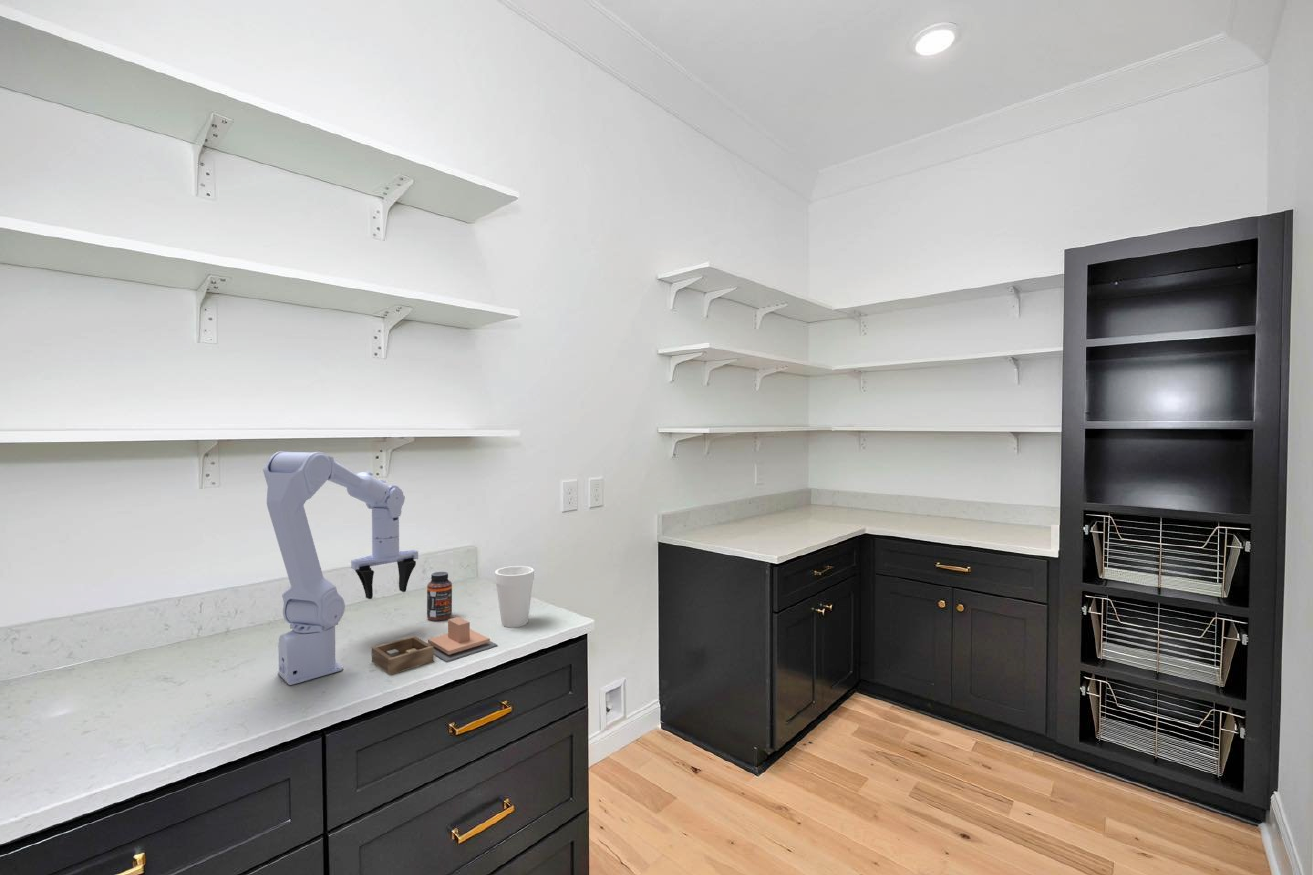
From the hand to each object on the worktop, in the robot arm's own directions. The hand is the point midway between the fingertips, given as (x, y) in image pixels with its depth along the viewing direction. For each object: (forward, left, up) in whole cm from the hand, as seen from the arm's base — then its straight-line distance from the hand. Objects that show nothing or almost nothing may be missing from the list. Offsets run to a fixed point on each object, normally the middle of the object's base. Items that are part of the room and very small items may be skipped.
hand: (386, 594), depth 135 cm
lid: (+8, -19, -8) cm, 22 cm away
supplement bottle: (+14, +2, -10) cm, 17 cm away
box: (-4, -18, -9) cm, 21 cm away
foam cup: (+25, -15, -10) cm, 31 cm away
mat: (+8, -19, -9) cm, 23 cm away
